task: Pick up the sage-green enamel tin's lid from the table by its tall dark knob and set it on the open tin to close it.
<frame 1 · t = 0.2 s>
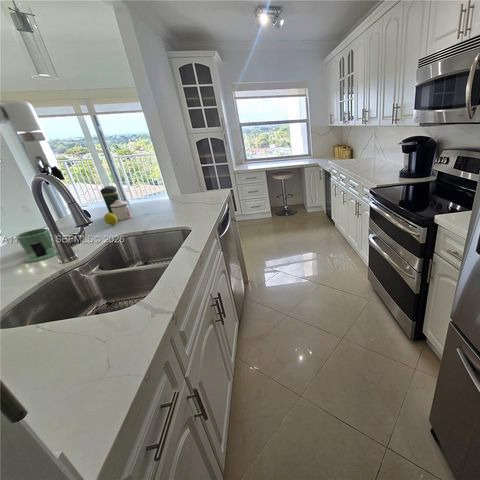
hand: (56, 182, 105), 32 cm above the worktop, tool pointing down, fingers open, 9 cm apart
coffee jar: (118, 214, 168), on the worktop
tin: (42, 248, 125), on the worktop
lid: (42, 255, 116), point 1 cm above the worktop
teacup with lid: (124, 217, 162), on the worktop
lemon: (113, 226, 149), on the worktop
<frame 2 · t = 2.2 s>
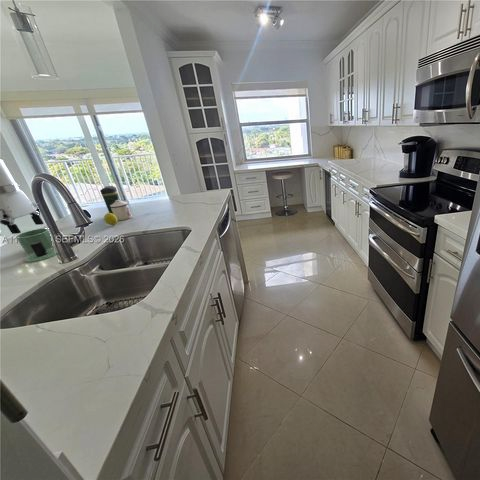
hand: (28, 228, 110), 14 cm above the worktop, tool pointing down, fingers open, 9 cm apart
nothing on the worktop moved.
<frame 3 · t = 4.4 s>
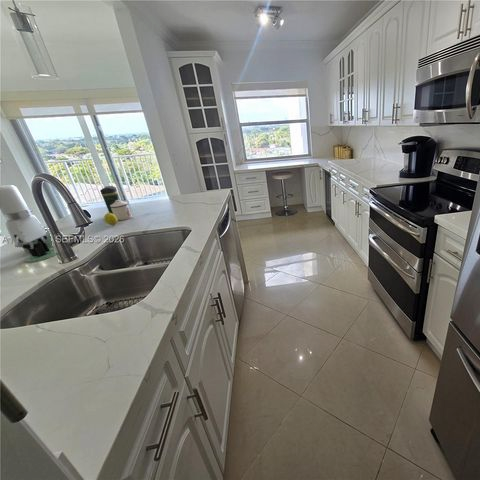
hand: (41, 253, 115), 2 cm above the worktop, tool pointing down, fingers closed on lid, 3 cm apart
lid: (42, 255, 116), point 1 cm above the worktop, touching gripper
everything else where it was.
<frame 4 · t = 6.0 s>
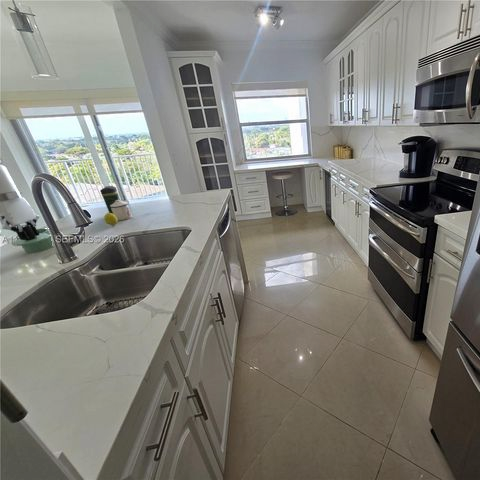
hand: (30, 237, 112), 10 cm above the worktop, tool pointing down, fingers closed on lid, 3 cm apart
lid: (31, 240, 112), point 9 cm above the worktop, touching gripper
everything else where it was.
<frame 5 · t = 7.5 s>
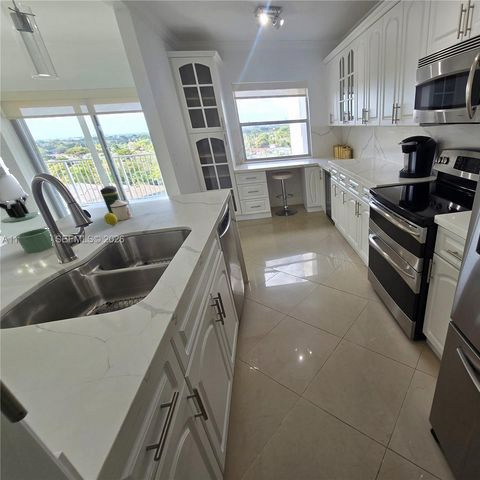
hand: (19, 215, 111), 19 cm above the worktop, tool pointing down, fingers closed on lid, 3 cm apart
lid: (21, 218, 112), point 18 cm above the worktop, touching gripper
everything else where it was.
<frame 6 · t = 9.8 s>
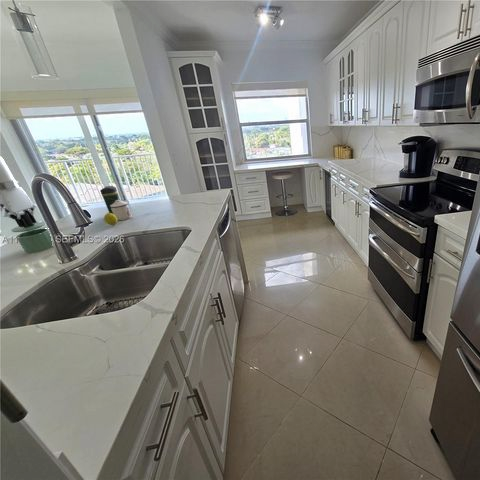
hand: (28, 224, 119), 13 cm above the worktop, tool pointing down, fingers closed on lid, 3 cm apart
lid: (30, 227, 120), point 11 cm above the worktop, touching gripper
everything else where it was.
when the fingers open (10 cm above the worktop, at t = 10.9 s): lid stays where it is, resting on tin.
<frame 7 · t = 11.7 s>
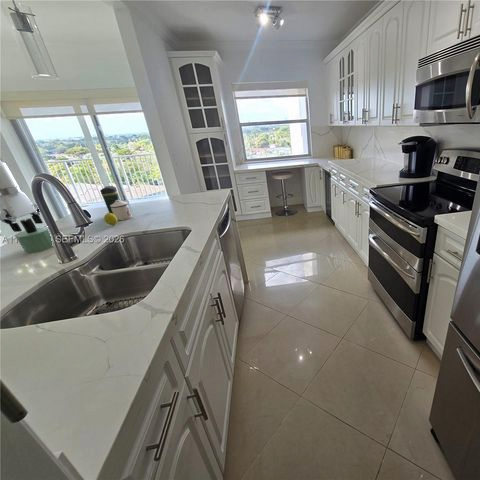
hand: (29, 227, 120), 11 cm above the worktop, tool pointing down, fingers open, 9 cm apart
lid: (33, 232, 121), point 8 cm above the worktop, touching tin
everything else where it was.
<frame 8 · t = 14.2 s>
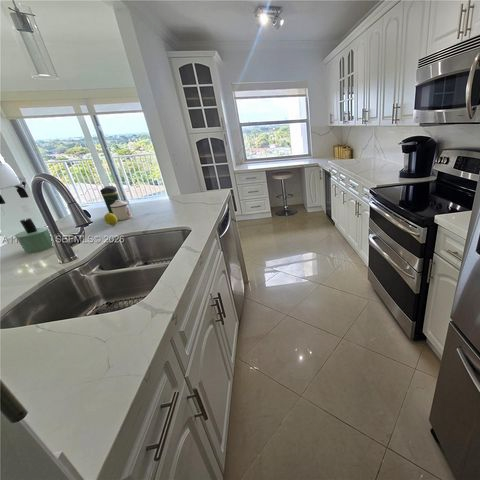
hand: (13, 200, 114), 24 cm above the worktop, tool pointing down, fingers open, 9 cm apart
nothing on the worktop moved.
at the end: lid 0.1 cm off-centre on the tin, point 8.5 cm above the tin's base; lid tilted 0° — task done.
